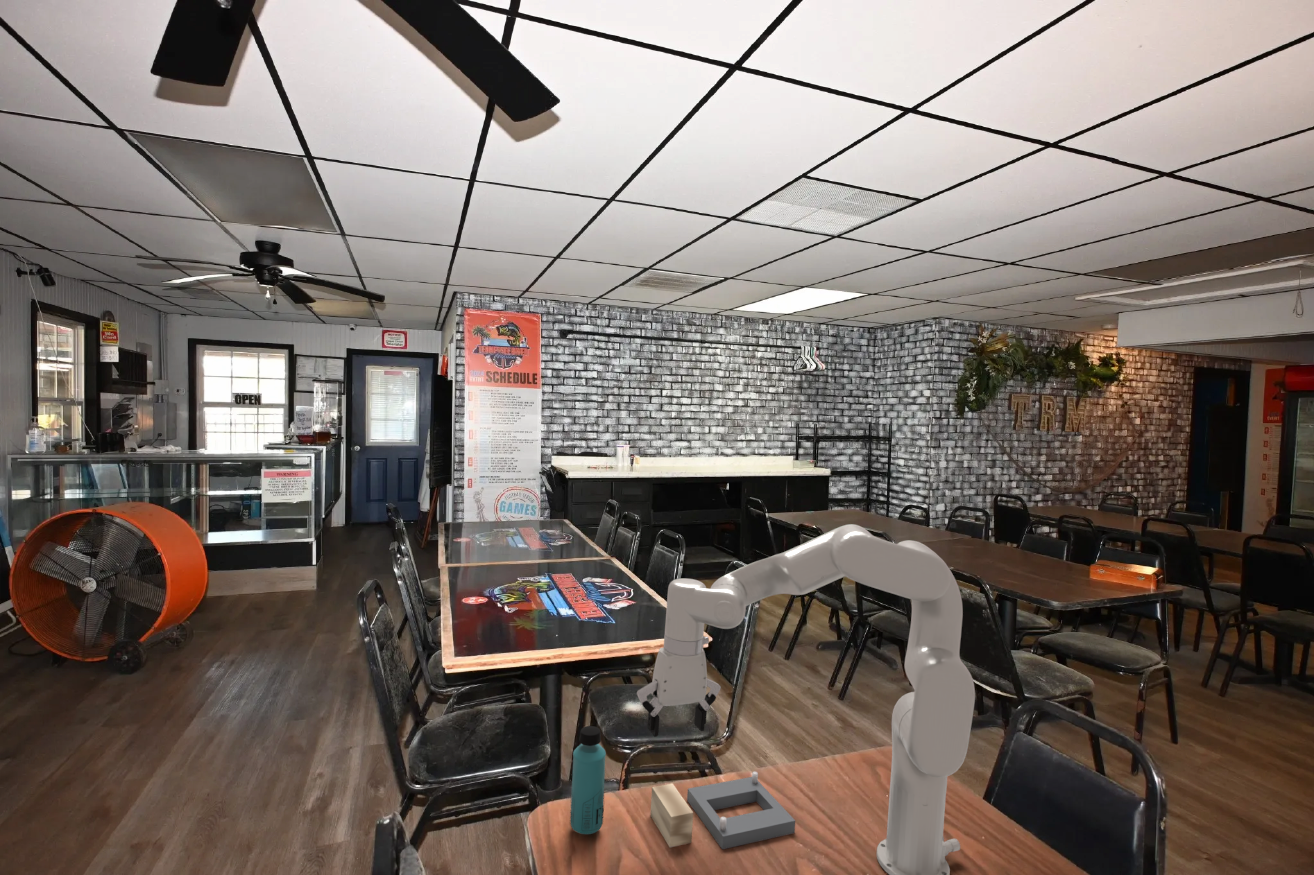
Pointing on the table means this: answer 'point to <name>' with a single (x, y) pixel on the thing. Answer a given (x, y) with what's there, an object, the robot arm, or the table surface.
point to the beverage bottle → (588, 782)
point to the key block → (671, 815)
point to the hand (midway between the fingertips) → (676, 730)
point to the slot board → (742, 826)
